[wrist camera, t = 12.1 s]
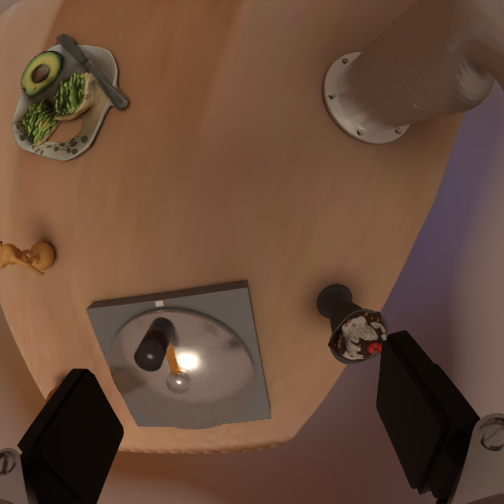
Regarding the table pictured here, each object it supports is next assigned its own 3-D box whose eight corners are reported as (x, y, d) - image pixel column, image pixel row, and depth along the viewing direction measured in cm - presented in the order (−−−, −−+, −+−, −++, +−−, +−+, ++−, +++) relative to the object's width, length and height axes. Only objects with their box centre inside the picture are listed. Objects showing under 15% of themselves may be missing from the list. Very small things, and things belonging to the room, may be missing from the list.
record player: (94, 314, 36) (64, 345, 28) (242, 298, 36) (242, 333, 28) (139, 422, 41) (125, 460, 33) (262, 417, 41) (266, 459, 32)
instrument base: (247, 280, 38) (247, 287, 36) (270, 407, 44) (271, 419, 41) (93, 301, 38) (85, 309, 36) (141, 416, 44) (137, 427, 41)
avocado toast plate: (158, 52, 31) (148, 39, 27) (104, 179, 35) (87, 180, 30) (54, 36, 29) (39, 26, 24) (10, 143, 33) (-9, 142, 28)
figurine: (27, 251, 36) (-25, 274, 25) (36, 215, 35) (-19, 230, 23) (66, 278, 37) (18, 311, 26) (77, 241, 36) (25, 266, 25)
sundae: (367, 294, 39) (420, 350, 25) (336, 331, 40) (374, 399, 26) (333, 267, 38) (380, 319, 24) (300, 307, 39) (329, 375, 25)
